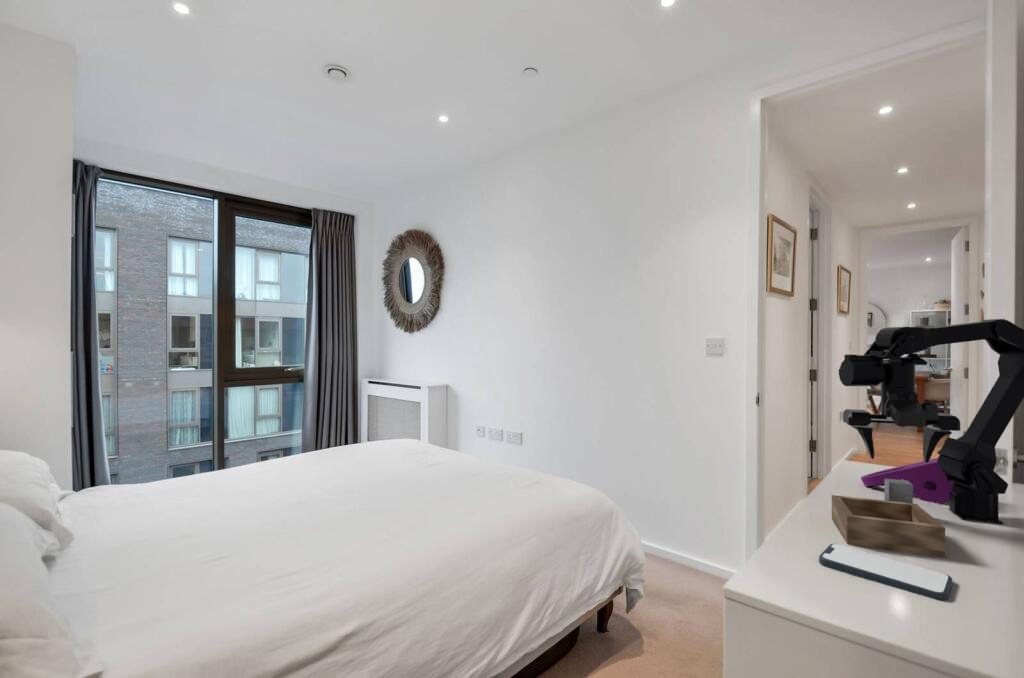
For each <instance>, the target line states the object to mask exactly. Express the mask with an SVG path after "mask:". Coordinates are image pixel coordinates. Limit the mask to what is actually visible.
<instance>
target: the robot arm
mask: <svg viewBox="0 0 1024 678" xmlns="http://www.w3.org/2000/svg"><path fill="white" fill-rule="evenodd" d="M982 340H983V341H986V343H987V345H988V346H989V348H990V349H991V350H992V351H994V352H995V353H996V354H998V355H999V357H998V361H997V366H998V367H997V369H998V373H999V375H998V377H997V379H996V381H995V382H994V384H993V386H992V388H991V389H990V391H989V393H988V394H987V395H986V398H985V399H984V401H983V402H982V405H981V406H980V407H979V409H978V411H977V413H976V415H975V416H974V418H973V419H972V422H970V424H969V426H968V427H967V429H966V432H965V433H964V434H963V435H962V436H959V438H953V437H949V436H948V437H946V439H945V440H944V442H943V445H942V447H941V448H940V449H939V450H938V451H937V452H936V454H938V457H937V458H938V461H937V463H938V464H939V467H940V469H941V470H942V471H943V472H944V474H945V476H946V479H947V481H949V482H953V491H950V499H949V507H948V510H949V511H950V512H951V513H952V514H954V515H955V516H957V517H958V518H960V519H961V520H963V521H971V522H972V521H973V522H981V521H983V523H989V524H990V523H992V524H1002V525H1003V524H1004V521H1003V520H1002V519H1000V518H999V495H1004V494H1006V492H1007V490H1008V486H1009V483H1008V482H1006V481H1005V480H1004V479H1003V478H1002V477H1001V476H1000V475H999V474H998V473H997V472H995V467H996V465H997V462H998V460H997V452H996V447H997V444H998V442H999V440H1000V439H1001V437H1002V435H1003V434H1004V432H1005V431H1006V428H1007V427H1009V424H1010V422H1011V421H1012V419H1013V417H1014V415H1015V414H1016V412H1017V410H1019V409H1018V408H1019V407H1020V405H1021V403H1022V402H1023V401H1024V328H1022V327H1019V326H1017V325H1016V324H1015V323H1013V322H1011V321H1010V320H1007V319H1005V318H994V319H991V318H989V319H983V320H980V321H975V322H973V321H972V322H965V323H958V324H950V325H942V326H941V325H940V326H933V327H923V326H898V327H897V326H896V327H895V326H894V327H892V326H891V327H890V326H889V327H884V328H881V329H879V331H878V332H877V333H876V336H875V337H874V341H873V342H872V344H871V345H870V346H869V348H868V349H867V350H866V352H865V353H864V354H860V355H859V354H844V357H843V358H844V359H843V361H841V364H840V366H839V368H838V377H839V381H840V382H841V384H842V385H843V386H844V387H877V386H879V385H880V389H879V395H880V408H879V413H880V414H879V413H878V414H877V413H871V412H869V411H867V410H865V409H849V408H848V409H847V408H846V409H845V410H844V411H843V413H842V422H843V423H845V424H847V426H850V427H851V428H853V429H855V430H857V432H858V434H859V435H860V436H861V439H862V441H863V444H864V445H865V446H864V447H865V448H866V451H867V453H868V455H869V457H870V459H872V460H873V459H875V449H874V448H875V446H874V440H873V438H874V437H873V430H874V428H873V427H871V426H870V424H872V423H876V424H877V423H879V424H894V425H895V426H898V427H903V428H904V427H916V428H922V429H923V430H922V431H923V432H922V434H923V435H922V456H923V457H922V458H923V461H924V462H925V463H928V462H929V460H931V457H932V455H933V453H934V450H935V449H936V447H937V445H938V443H939V442H940V440H941V439H943V438H944V436H946V435H952V433H953V432H954V431H955V432H956V431H957V432H958V431H961V421H960V418H958V417H957V416H956V415H954V414H950V413H947V412H939V409H938V408H939V407H938V404H937V402H930V401H929V402H928V401H927V402H926V401H924V402H923V403H921V402H919V398H918V397H919V396H918V392H916V366H926V365H928V361H927V360H925V359H924V358H922V357H921V356H920V355H919V354H918V353H919V352H922V351H923V352H924V351H926V350H928V349H930V348H932V347H935V346H941V345H949V344H957V343H958V344H959V343H968V342H974V341H982ZM904 355H907V356H904ZM884 360H887V361H884ZM952 431H953V432H952ZM955 483H956V484H955Z"/></svg>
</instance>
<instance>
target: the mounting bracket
mask: <svg viewBox="0 0 1024 678" xmlns="http://www.w3.org/2000/svg"><path fill="white" fill-rule="evenodd" d="M937 461H938V457H937V458H932V459H931V458H930V460H929V462H928V463H925V462H924V460H923V461H919V462H914V463H910V464H905V465H901V466H900V465H899V466H896V467H892V468H887V469H884V470H879V471H875V472H871V473H868V474H864V475H862V476H861V477H860V479H861V481H862V483H863V485H864V487H871V486H878V485H883V484H885V479H895V480H907V481H909V482H910V483H911V484H913V496H915V497H917V498H918V499H919V500H921V501H923V502H928V503H932V502H933V504H937V503H939V504H943V503H945V502H947V501H950V491H953V482H949V481H947V479H946V476H945V474H944V472H943V471H942V470H941V469H940V467H939V464H938V463H937ZM955 484H956V483H955ZM939 504H938V505H939Z"/></svg>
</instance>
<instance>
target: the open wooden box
mask: <svg viewBox="0 0 1024 678" xmlns="http://www.w3.org/2000/svg"><path fill="white" fill-rule="evenodd" d="M831 521H832V522H833V524H834V525H835V526H836V528H837V530H838V532H839V533H840V535H841V536H842V539H844V541H845V543H846V544H847V545H853V546H860V547H866V548H867V547H868V548H874V549H883V550H888V551H896V552H897V551H898V552H903V553H904V552H905V553H911V554H917V555H925V556H932V557H941V558H946V527H945V526H944V525H942V524H941V523H940V522H939V521H938V520H936V519H935V518H934V517H933V516H931V514H929V512H927V511H926V510H925V509H923V508H922V507H921V506H920V505H919V504H917V503H914V502H913V503H904V502H895V501H885V499H883V500H882V499H875V498H874V499H873V498H864V497H855V496H854V497H853V496H845V495H834V494H831Z"/></svg>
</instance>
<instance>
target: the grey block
mask: <svg viewBox="0 0 1024 678" xmlns="http://www.w3.org/2000/svg"><path fill="white" fill-rule="evenodd" d="M884 500H885V501H895V502H904V503H914V493H913V484H911V483H910V482H909V481H907V480H895V479H885V483H884Z"/></svg>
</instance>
